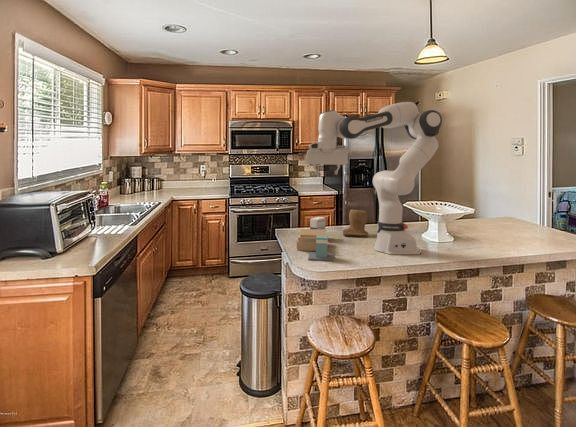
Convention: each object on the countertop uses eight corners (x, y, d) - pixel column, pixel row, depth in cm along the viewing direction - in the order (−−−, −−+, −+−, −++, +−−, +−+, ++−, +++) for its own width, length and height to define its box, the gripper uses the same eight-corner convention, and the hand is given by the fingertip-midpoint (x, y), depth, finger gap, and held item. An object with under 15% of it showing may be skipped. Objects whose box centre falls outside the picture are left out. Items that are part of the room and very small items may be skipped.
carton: (326, 242, 205) (327, 229, 204) (326, 252, 186) (326, 238, 185) (299, 241, 207) (299, 228, 206) (296, 251, 188) (296, 237, 187)
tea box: (327, 254, 181) (327, 235, 179) (326, 257, 175) (327, 238, 174) (316, 253, 182) (316, 234, 180) (315, 257, 176) (316, 237, 174)
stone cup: (366, 233, 230) (367, 208, 227) (369, 237, 218) (370, 211, 216) (340, 232, 231) (341, 207, 228) (342, 237, 219) (343, 211, 216)
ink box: (318, 236, 219) (318, 216, 217) (325, 238, 216) (326, 217, 214) (309, 239, 212) (309, 218, 210) (316, 241, 209) (317, 219, 207)
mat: (333, 254, 183) (333, 252, 183) (333, 261, 172) (333, 259, 172) (309, 253, 184) (309, 251, 184) (308, 260, 174) (308, 258, 174)
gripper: (348, 145, 188) (347, 174, 191) (306, 144, 190) (306, 173, 193) (349, 145, 182) (348, 174, 184) (305, 144, 184) (305, 174, 187)
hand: (326, 174), depth 189 cm, fingers open, 8 cm apart
